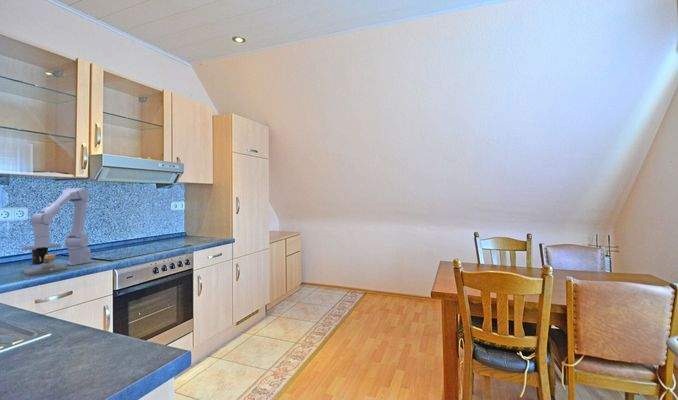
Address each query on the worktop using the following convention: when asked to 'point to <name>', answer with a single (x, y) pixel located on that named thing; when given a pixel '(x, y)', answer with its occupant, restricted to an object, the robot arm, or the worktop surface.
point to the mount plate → (44, 269)
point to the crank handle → (48, 258)
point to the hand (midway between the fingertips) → (42, 262)
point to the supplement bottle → (36, 256)
